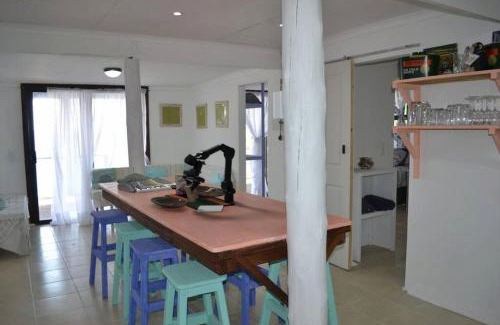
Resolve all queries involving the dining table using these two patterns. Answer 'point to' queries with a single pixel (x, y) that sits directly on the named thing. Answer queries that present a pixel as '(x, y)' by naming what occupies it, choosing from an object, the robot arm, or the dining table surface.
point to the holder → (167, 187)
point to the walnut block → (191, 192)
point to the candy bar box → (179, 183)
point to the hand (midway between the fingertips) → (189, 190)
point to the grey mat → (210, 209)
